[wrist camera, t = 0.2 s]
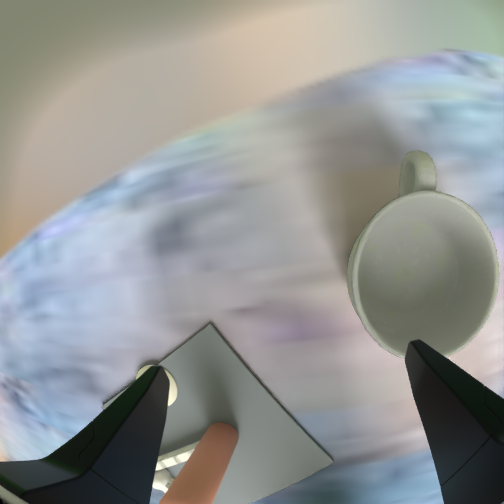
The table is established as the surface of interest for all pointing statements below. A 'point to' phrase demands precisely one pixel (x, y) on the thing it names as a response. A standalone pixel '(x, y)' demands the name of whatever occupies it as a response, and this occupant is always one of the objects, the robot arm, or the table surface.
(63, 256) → the table surface
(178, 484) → the brown cylinder with stick
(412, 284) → the teacup
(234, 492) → the board
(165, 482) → the cream dumbbell
